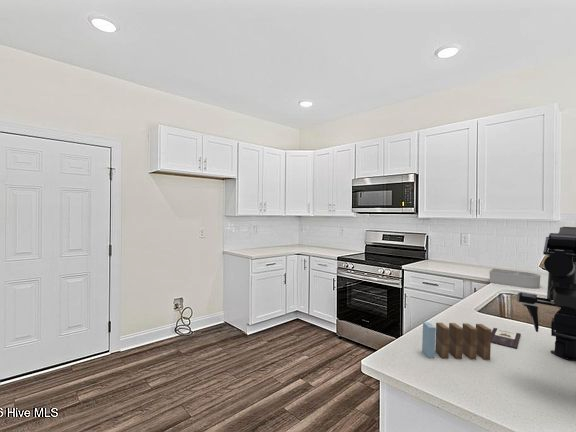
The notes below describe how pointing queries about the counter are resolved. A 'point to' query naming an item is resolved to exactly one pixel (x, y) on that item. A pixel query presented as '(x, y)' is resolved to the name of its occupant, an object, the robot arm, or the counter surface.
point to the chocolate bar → (505, 338)
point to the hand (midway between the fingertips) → (558, 336)
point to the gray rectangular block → (515, 278)
